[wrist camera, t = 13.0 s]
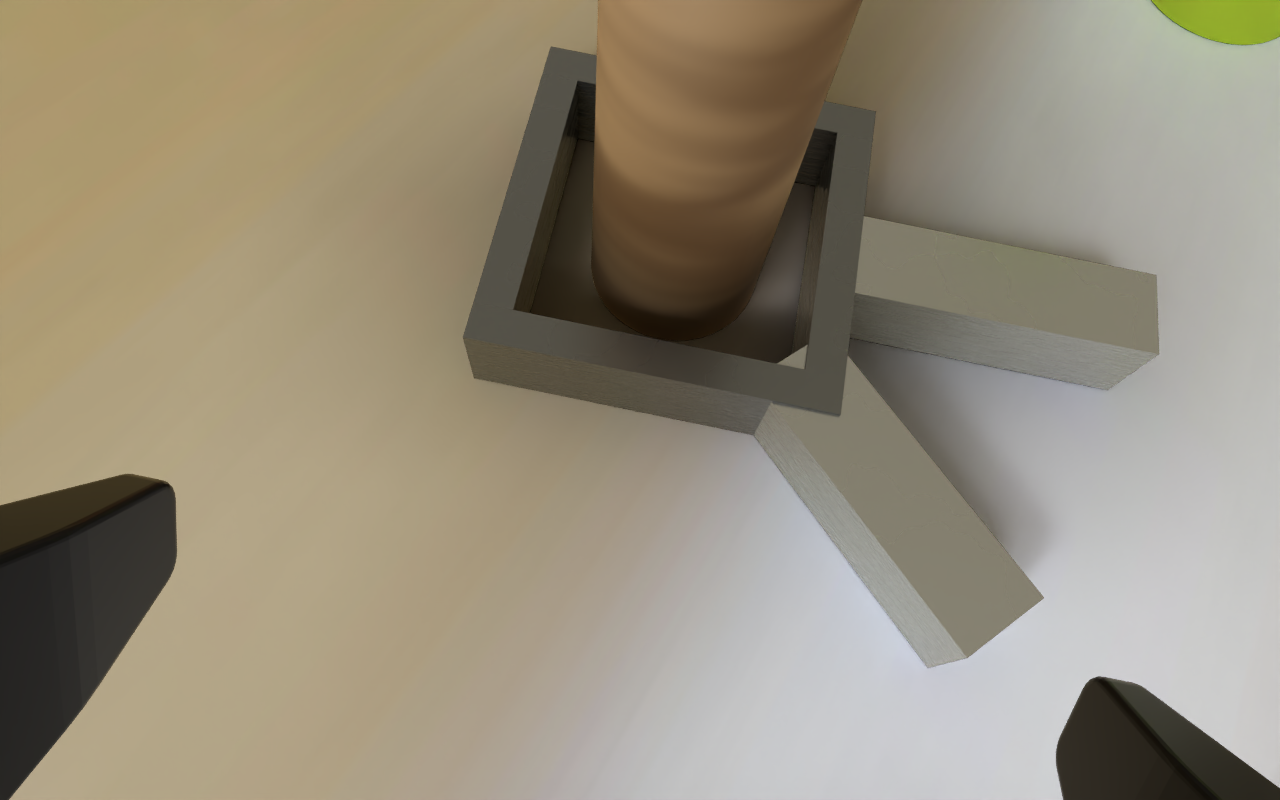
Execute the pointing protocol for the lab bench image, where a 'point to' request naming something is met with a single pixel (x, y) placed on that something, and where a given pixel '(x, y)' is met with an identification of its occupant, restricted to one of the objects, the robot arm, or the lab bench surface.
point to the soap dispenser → (1226, 19)
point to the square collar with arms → (828, 359)
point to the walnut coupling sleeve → (701, 148)
